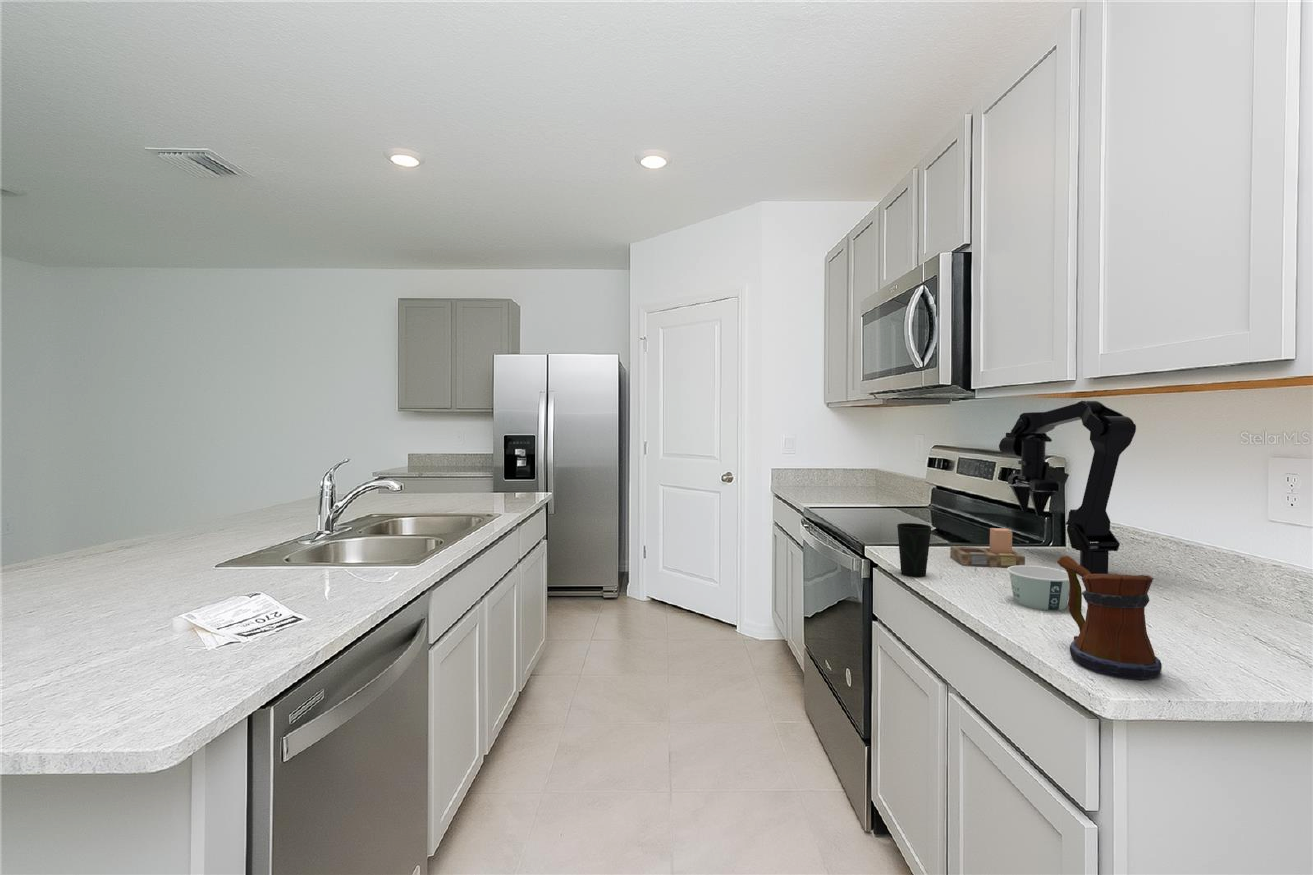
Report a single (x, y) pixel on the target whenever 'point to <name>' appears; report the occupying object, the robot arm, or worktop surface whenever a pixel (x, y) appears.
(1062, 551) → the worktop surface
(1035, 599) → the food container
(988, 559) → the socket block
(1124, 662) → the mug
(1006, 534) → the tan rectangular block
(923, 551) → the cup
